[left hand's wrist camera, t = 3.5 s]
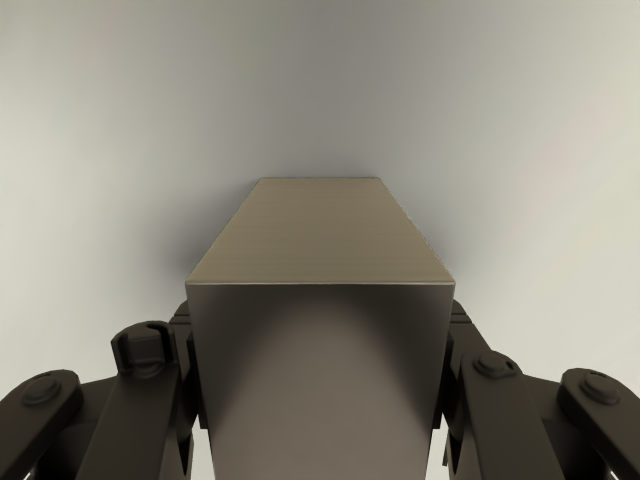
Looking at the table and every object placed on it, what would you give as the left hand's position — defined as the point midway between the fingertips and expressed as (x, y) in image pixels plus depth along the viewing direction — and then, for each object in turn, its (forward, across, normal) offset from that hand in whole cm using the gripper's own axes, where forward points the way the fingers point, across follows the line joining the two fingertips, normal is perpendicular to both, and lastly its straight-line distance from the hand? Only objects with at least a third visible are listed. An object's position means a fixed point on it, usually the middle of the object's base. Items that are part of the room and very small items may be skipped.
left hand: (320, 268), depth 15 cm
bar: (+1, 0, -9) cm, 9 cm away
